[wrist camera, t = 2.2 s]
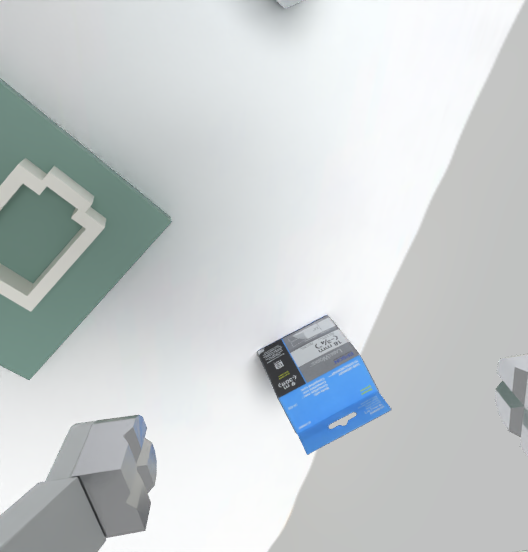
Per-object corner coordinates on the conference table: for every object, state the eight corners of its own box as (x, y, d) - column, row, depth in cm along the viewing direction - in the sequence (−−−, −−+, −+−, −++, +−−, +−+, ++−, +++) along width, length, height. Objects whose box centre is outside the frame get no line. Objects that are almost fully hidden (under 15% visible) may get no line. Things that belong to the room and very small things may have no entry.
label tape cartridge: (328, 312, 50) (383, 378, 39) (338, 338, 52) (394, 409, 41) (255, 350, 50) (291, 428, 39) (269, 375, 52) (306, 456, 41)
